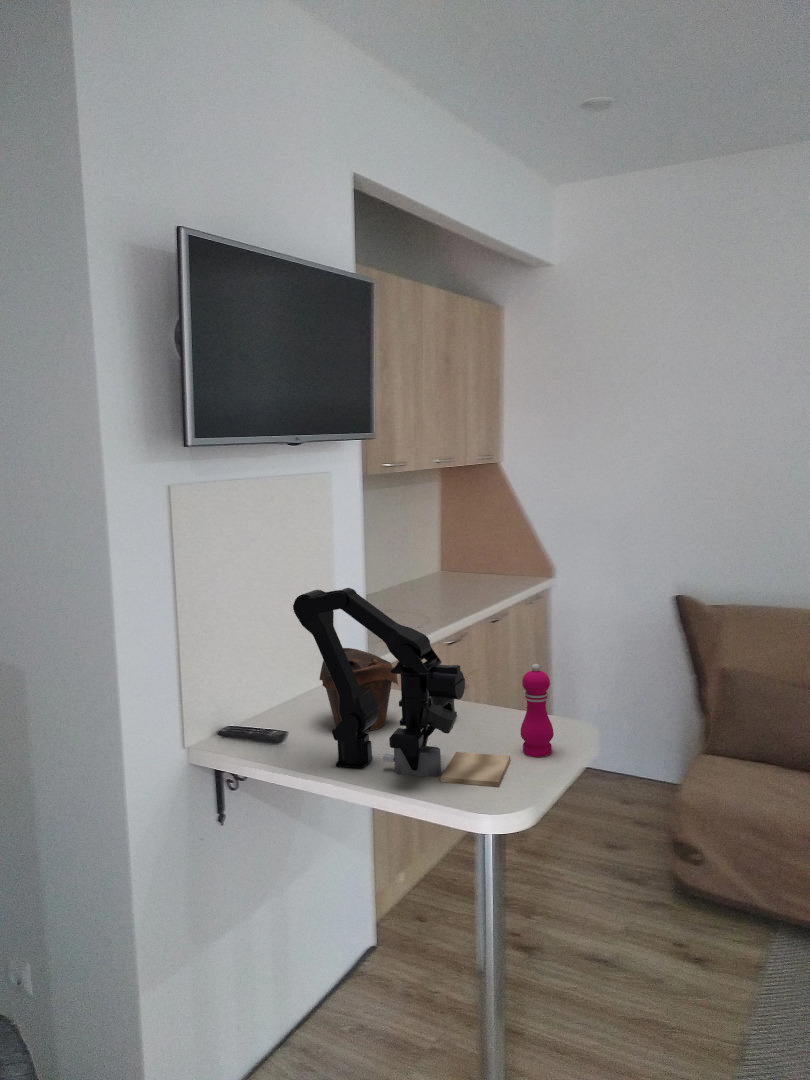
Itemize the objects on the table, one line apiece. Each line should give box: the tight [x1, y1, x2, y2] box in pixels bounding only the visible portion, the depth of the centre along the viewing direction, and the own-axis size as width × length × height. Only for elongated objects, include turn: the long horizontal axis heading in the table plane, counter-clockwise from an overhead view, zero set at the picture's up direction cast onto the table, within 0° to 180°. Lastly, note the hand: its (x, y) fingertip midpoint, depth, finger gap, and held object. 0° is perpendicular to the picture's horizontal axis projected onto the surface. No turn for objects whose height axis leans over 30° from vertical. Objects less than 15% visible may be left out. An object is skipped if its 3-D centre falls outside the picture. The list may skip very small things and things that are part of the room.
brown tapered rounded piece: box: [319, 647, 399, 732], centre depth 202 cm, size 18×20×18 cm
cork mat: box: [440, 751, 511, 788], centre depth 172 cm, size 12×14×1 cm
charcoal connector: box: [382, 745, 442, 778], centre depth 172 cm, size 12×4×5 cm, turn 73°
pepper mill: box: [520, 663, 554, 758], centre depth 180 cm, size 7×7×20 cm
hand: (417, 766), depth 172 cm, fingers closed on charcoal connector, 4 cm apart
